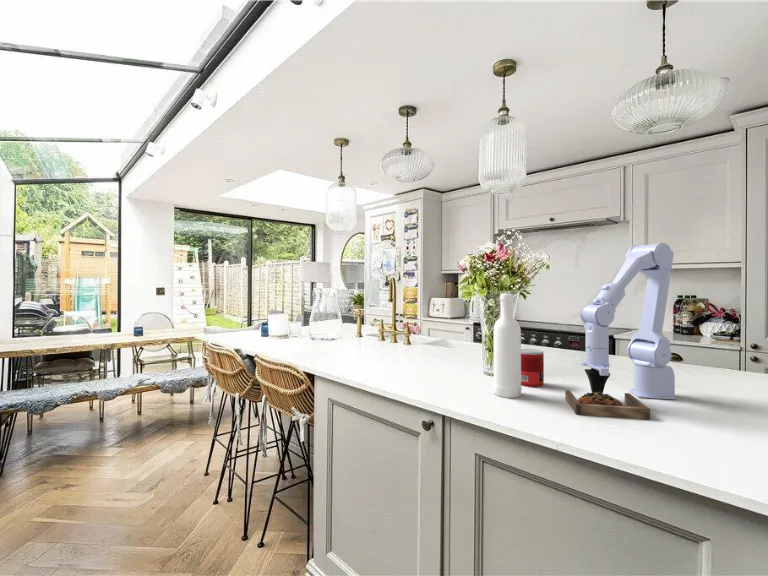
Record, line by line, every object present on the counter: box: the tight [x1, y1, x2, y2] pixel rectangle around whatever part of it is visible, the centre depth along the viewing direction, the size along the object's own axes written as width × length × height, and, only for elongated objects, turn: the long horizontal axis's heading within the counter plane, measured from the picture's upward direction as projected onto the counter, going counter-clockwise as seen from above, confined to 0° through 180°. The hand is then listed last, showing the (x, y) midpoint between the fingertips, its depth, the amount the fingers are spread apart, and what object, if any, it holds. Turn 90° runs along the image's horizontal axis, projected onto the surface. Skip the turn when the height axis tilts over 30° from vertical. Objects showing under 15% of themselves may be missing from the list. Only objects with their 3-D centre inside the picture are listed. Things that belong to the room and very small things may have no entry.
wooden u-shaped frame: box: [564, 389, 651, 421], centre depth 105 cm, size 16×14×2 cm
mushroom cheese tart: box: [577, 391, 624, 406], centre depth 106 cm, size 11×11×5 cm
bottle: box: [493, 293, 522, 399], centre depth 118 cm, size 8×8×30 cm
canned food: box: [521, 348, 545, 388], centre depth 130 cm, size 8×8×11 cm
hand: (597, 395), depth 111 cm, fingers closed
